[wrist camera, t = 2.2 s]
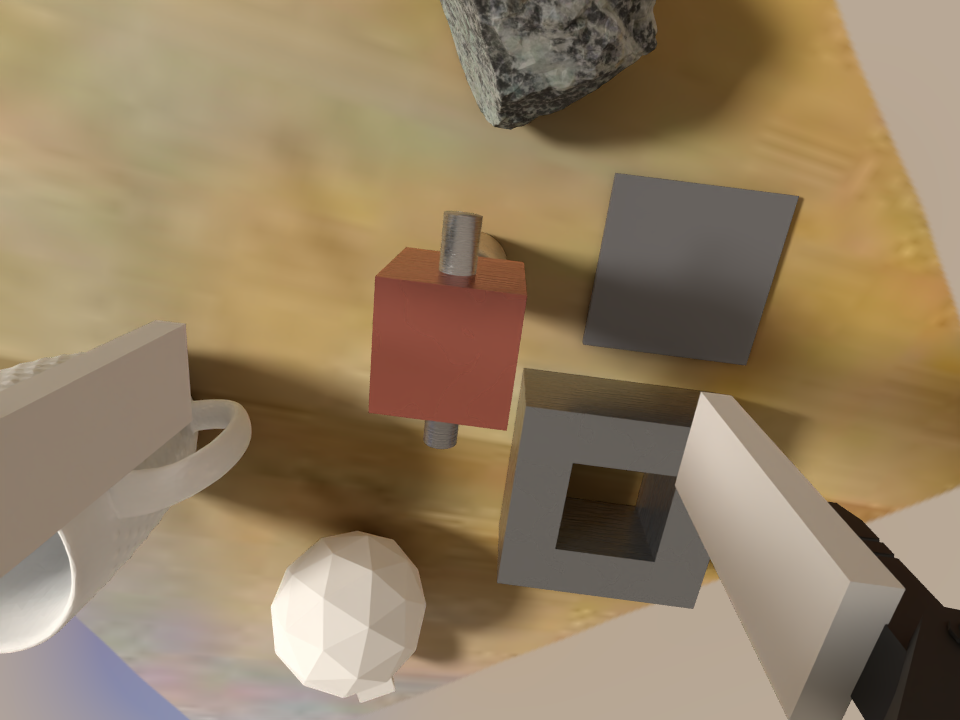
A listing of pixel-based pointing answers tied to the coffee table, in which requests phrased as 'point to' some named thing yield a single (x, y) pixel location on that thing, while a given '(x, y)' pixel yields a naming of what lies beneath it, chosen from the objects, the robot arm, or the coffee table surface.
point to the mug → (111, 519)
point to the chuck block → (591, 524)
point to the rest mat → (686, 268)
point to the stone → (545, 50)
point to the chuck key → (448, 332)
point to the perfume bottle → (349, 615)
